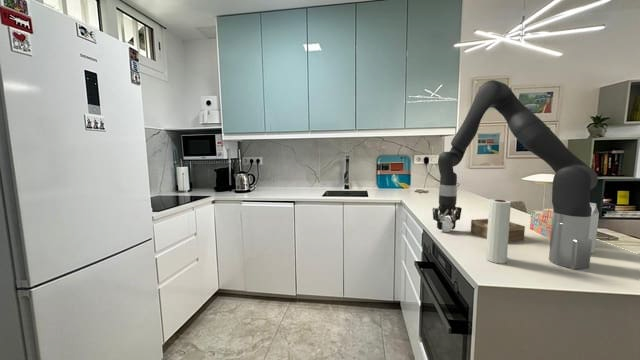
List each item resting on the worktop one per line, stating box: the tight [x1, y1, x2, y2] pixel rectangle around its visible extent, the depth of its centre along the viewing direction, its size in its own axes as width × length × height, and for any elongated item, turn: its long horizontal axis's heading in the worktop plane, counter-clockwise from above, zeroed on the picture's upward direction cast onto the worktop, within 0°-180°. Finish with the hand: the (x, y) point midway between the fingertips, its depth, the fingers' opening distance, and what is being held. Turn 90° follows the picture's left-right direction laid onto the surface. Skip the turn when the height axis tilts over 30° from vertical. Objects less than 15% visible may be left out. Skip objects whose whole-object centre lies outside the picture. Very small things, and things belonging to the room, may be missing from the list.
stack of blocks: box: [529, 208, 553, 240], centre depth 117 cm, size 21×6×12 cm, turn 169°
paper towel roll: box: [485, 198, 512, 264], centre depth 92 cm, size 7×6×21 cm
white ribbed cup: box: [441, 216, 453, 233], centre depth 126 cm, size 6×6×7 cm
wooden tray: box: [470, 218, 526, 243], centre depth 118 cm, size 14×14×6 cm
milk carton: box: [589, 202, 600, 254], centre depth 99 cm, size 7×7×19 cm
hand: (446, 228), depth 126 cm, fingers closed on white ribbed cup, 6 cm apart
